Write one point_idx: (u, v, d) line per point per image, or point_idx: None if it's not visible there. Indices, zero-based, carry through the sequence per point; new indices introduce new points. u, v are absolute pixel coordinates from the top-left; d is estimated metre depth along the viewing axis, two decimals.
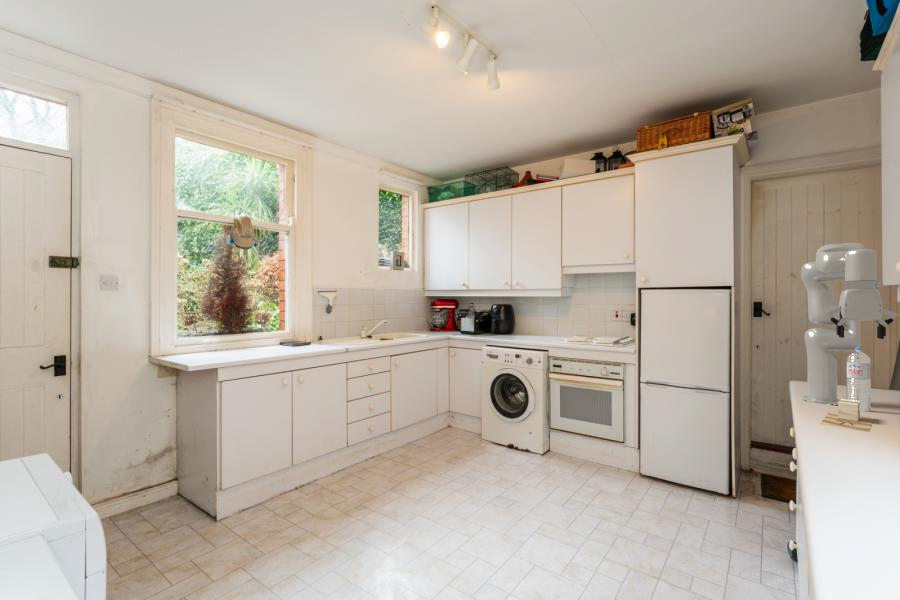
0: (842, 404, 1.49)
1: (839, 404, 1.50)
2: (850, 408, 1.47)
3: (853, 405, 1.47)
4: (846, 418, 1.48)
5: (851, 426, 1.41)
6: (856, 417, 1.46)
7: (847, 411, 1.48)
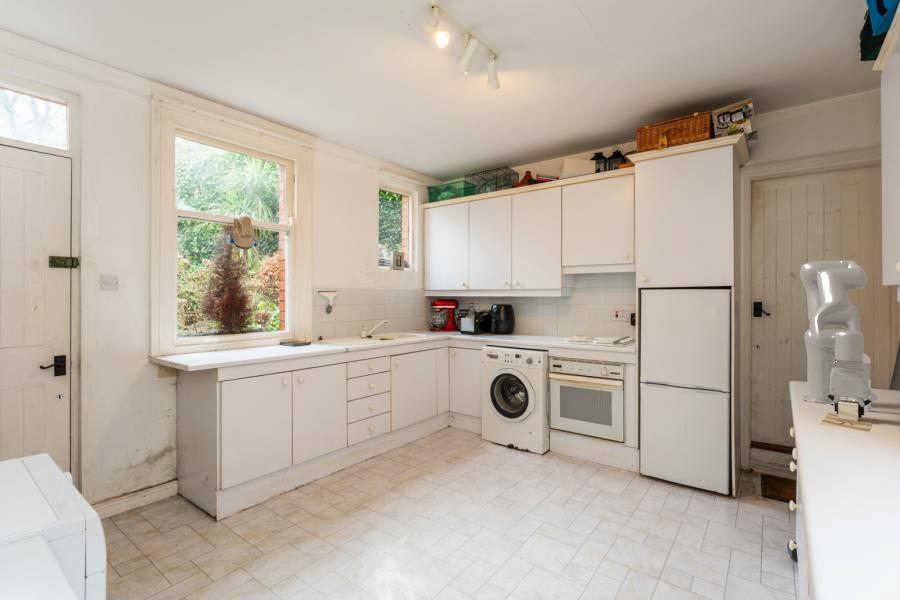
0: (842, 404, 1.49)
1: (839, 404, 1.50)
2: (850, 408, 1.47)
3: (853, 405, 1.47)
4: (846, 418, 1.48)
5: (851, 426, 1.41)
6: (856, 417, 1.46)
7: (847, 411, 1.48)
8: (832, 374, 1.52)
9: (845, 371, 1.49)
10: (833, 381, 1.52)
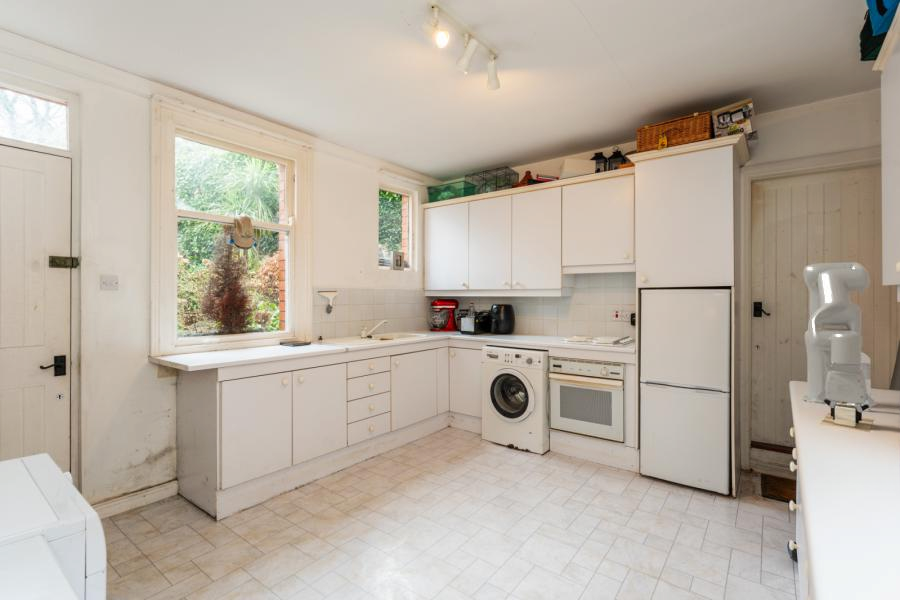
0: (839, 409, 1.43)
1: (836, 409, 1.43)
2: (847, 413, 1.41)
3: (850, 410, 1.40)
4: (843, 423, 1.42)
5: None
6: (853, 422, 1.40)
7: (844, 416, 1.42)
8: (828, 378, 1.46)
9: (842, 375, 1.43)
10: (829, 385, 1.45)
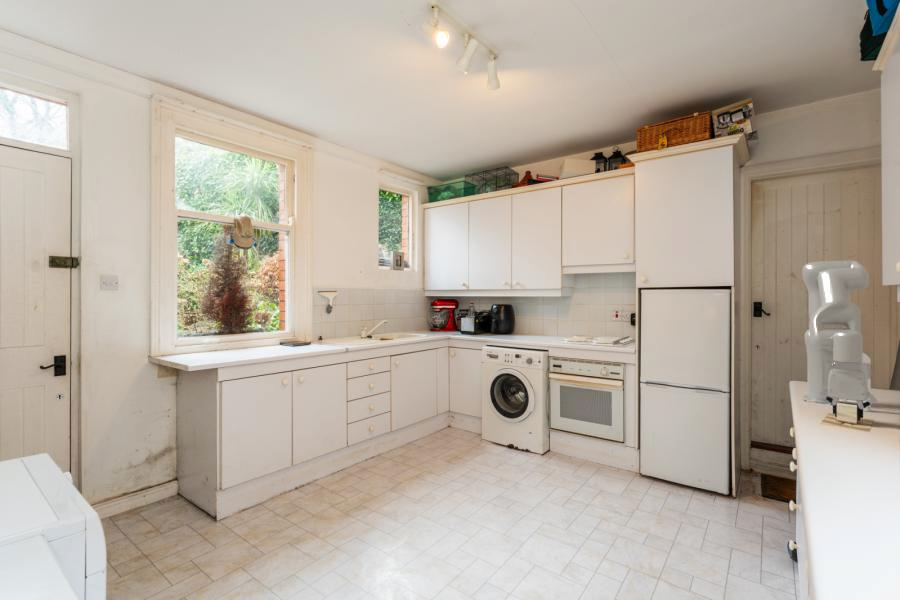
0: (841, 405, 1.46)
1: (838, 405, 1.46)
2: (849, 409, 1.44)
3: (852, 407, 1.44)
4: (845, 420, 1.45)
5: (851, 426, 1.41)
6: (855, 419, 1.43)
7: (845, 412, 1.45)
8: (830, 376, 1.49)
9: (844, 373, 1.46)
10: (831, 383, 1.48)
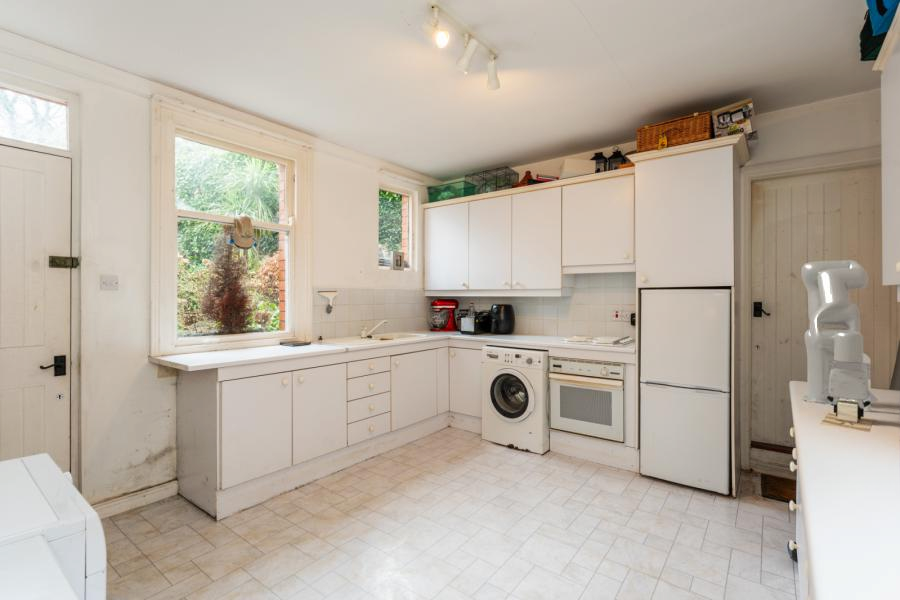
0: (841, 405, 1.48)
1: (838, 405, 1.48)
2: (849, 409, 1.46)
3: (852, 406, 1.46)
4: (845, 419, 1.47)
5: (851, 426, 1.41)
6: (855, 418, 1.45)
7: (846, 412, 1.47)
8: (831, 375, 1.51)
9: (844, 372, 1.48)
10: (832, 382, 1.50)
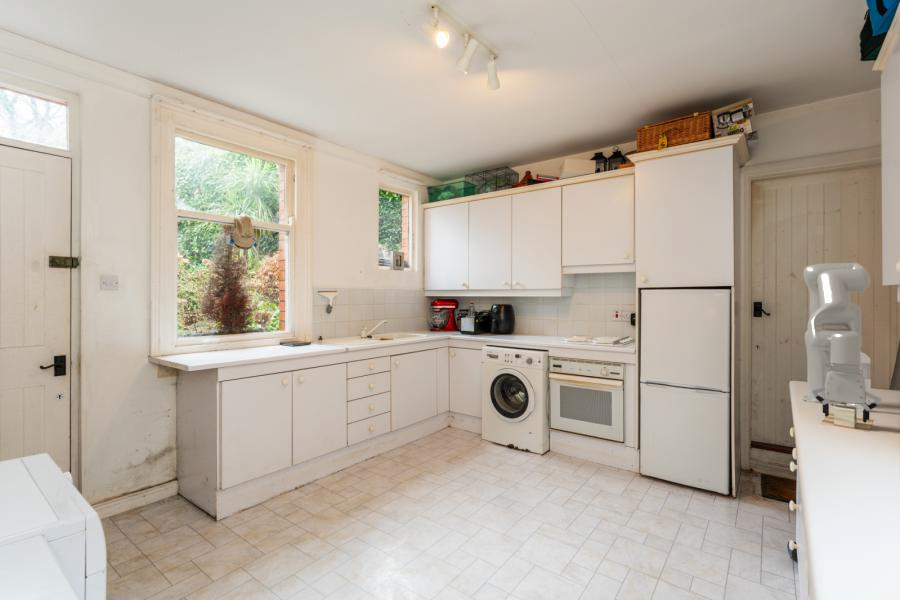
0: (838, 409, 1.42)
1: (835, 409, 1.42)
2: (846, 414, 1.40)
3: (849, 411, 1.40)
4: (842, 424, 1.41)
5: None
6: (853, 423, 1.39)
7: (843, 417, 1.41)
8: (828, 378, 1.45)
9: (841, 375, 1.42)
10: (829, 385, 1.44)
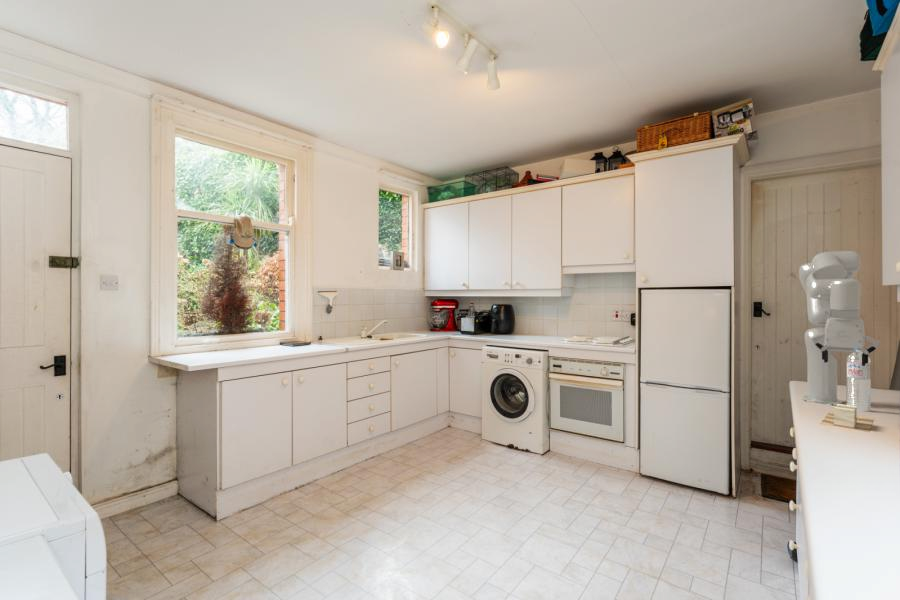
0: (838, 409, 1.42)
1: (835, 409, 1.42)
2: (846, 414, 1.40)
3: (849, 411, 1.40)
4: (842, 424, 1.41)
5: None
6: (853, 423, 1.39)
7: (843, 417, 1.41)
8: (827, 325, 1.47)
9: (840, 321, 1.44)
10: (828, 332, 1.47)
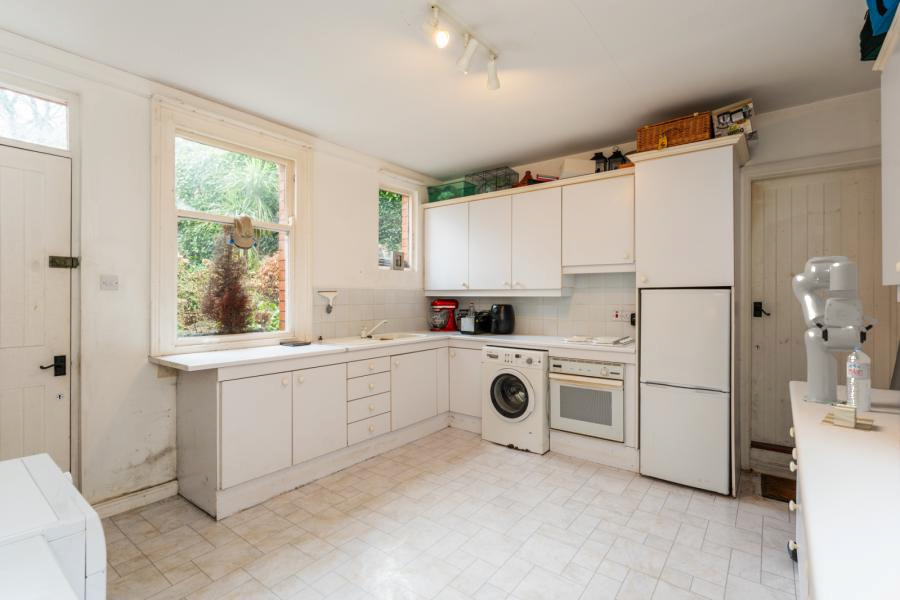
0: (838, 409, 1.42)
1: (835, 409, 1.42)
2: (846, 414, 1.40)
3: (849, 411, 1.40)
4: (842, 424, 1.41)
5: None
6: (853, 423, 1.39)
7: (843, 417, 1.41)
8: (827, 305, 1.55)
9: (840, 301, 1.52)
10: (828, 312, 1.55)
